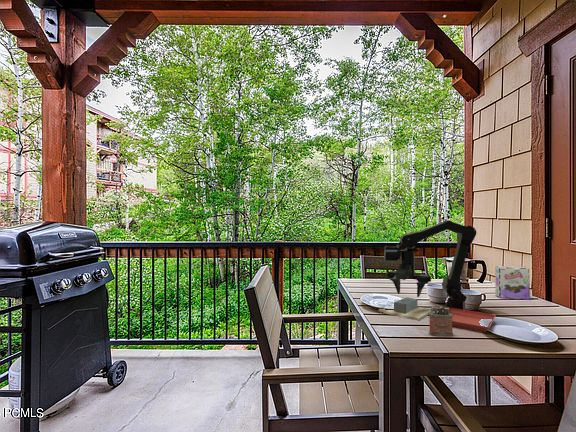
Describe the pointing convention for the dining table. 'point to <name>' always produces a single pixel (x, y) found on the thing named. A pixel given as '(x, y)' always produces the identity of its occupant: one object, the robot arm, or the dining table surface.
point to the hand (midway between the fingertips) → (408, 295)
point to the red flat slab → (469, 319)
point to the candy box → (512, 282)
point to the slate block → (405, 305)
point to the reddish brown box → (440, 322)
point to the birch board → (410, 313)
